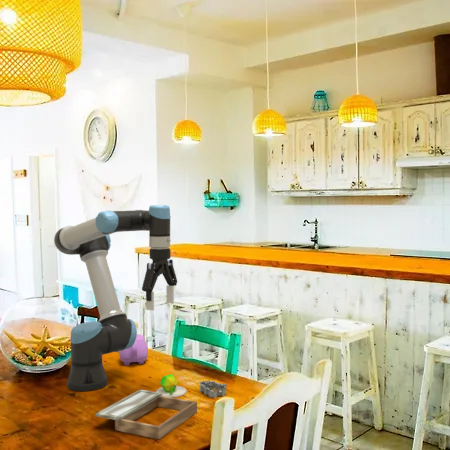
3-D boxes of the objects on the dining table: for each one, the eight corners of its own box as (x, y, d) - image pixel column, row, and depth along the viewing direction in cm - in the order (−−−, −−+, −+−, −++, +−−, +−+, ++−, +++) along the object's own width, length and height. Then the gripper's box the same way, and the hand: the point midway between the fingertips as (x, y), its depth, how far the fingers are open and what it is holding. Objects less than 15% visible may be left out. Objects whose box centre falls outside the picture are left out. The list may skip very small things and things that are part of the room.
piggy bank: (150, 367, 233) (149, 337, 232) (120, 369, 230) (119, 339, 229) (145, 354, 252) (145, 327, 252) (118, 356, 249) (117, 329, 249)
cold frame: (95, 427, 170) (95, 413, 170) (140, 401, 192) (140, 389, 192) (158, 440, 160) (158, 425, 160) (197, 411, 182) (197, 398, 182)
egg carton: (228, 396, 197) (228, 384, 197) (209, 399, 194) (209, 388, 194) (215, 387, 207) (215, 376, 207) (197, 390, 203) (197, 379, 203)
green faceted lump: (163, 368, 203) (175, 374, 196) (175, 377, 206) (187, 383, 199) (152, 385, 201) (164, 391, 193) (164, 393, 204) (176, 400, 196)
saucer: (150, 394, 199) (150, 393, 198) (166, 385, 208) (166, 384, 208) (176, 399, 194) (176, 397, 194) (191, 389, 204) (191, 388, 204)
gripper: (149, 251, 184) (150, 313, 185) (186, 245, 207) (186, 301, 208) (131, 250, 187) (132, 312, 188) (168, 244, 210) (169, 299, 211)
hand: (160, 306), depth 198 cm, fingers open, 13 cm apart
